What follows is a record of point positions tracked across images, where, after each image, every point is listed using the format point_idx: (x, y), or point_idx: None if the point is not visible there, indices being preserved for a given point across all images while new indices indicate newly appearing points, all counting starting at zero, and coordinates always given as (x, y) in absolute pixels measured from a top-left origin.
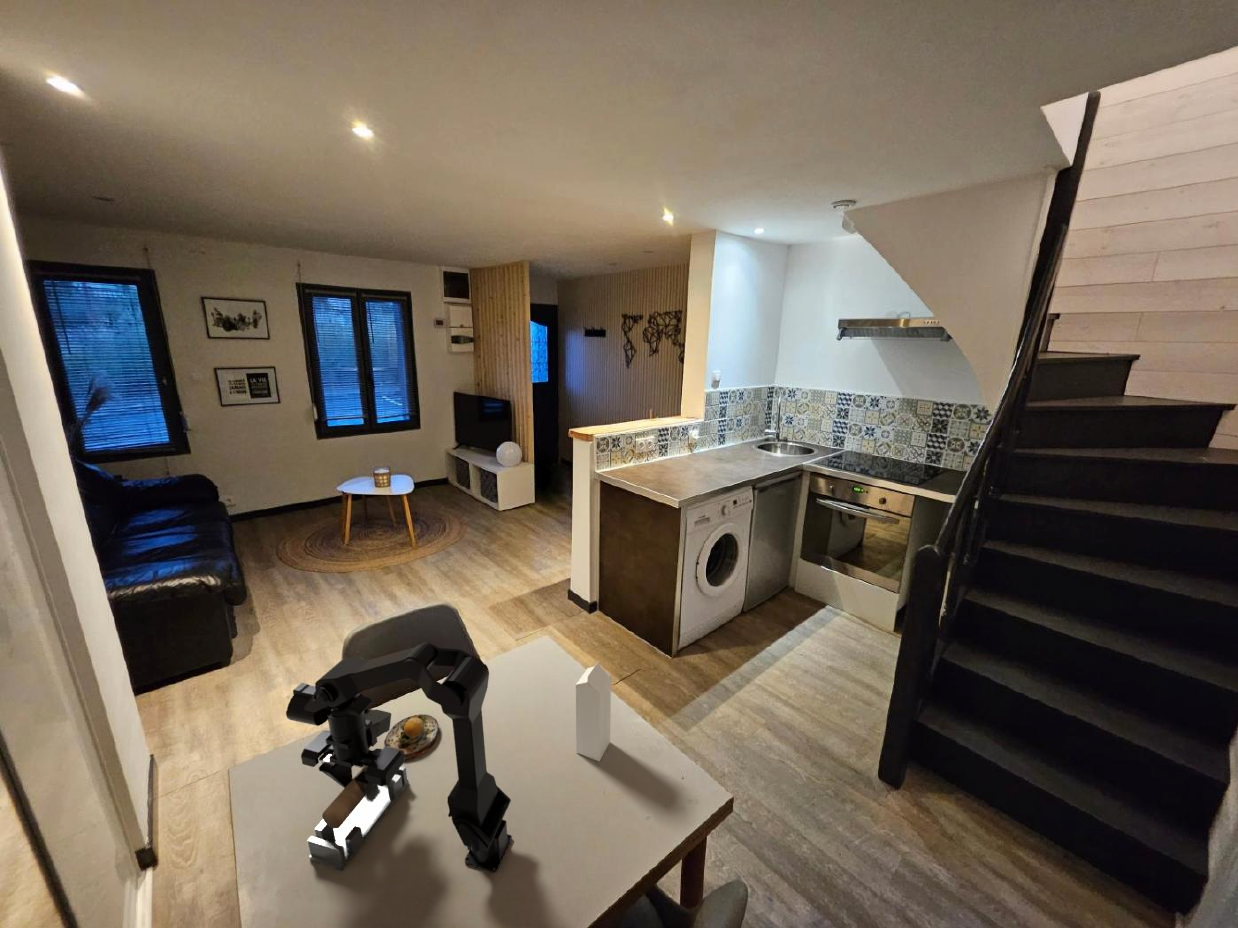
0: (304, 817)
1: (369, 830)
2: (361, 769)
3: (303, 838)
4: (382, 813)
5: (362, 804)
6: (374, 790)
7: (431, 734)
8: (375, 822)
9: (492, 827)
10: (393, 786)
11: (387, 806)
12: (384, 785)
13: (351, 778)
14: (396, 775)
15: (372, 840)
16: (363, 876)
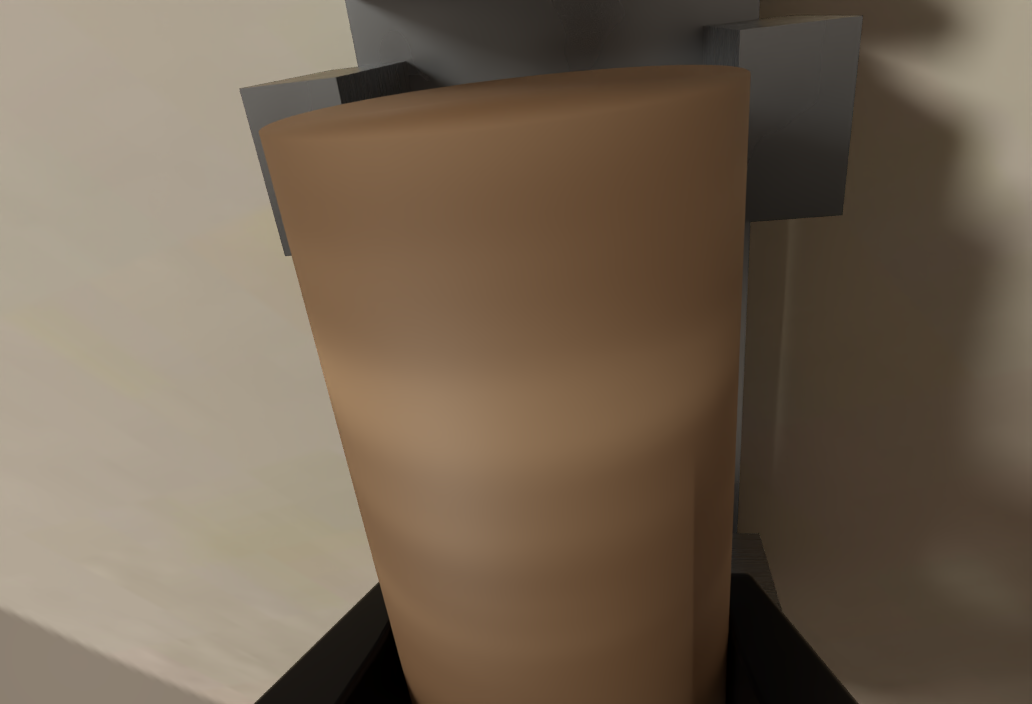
0: (177, 469)
1: (738, 457)
2: (401, 591)
3: (317, 560)
4: (742, 313)
5: None
6: None
7: None
8: (740, 395)
9: None
10: (837, 206)
11: (746, 247)
12: (535, 64)
13: (378, 676)
14: (772, 41)
15: (788, 464)
16: (889, 632)
